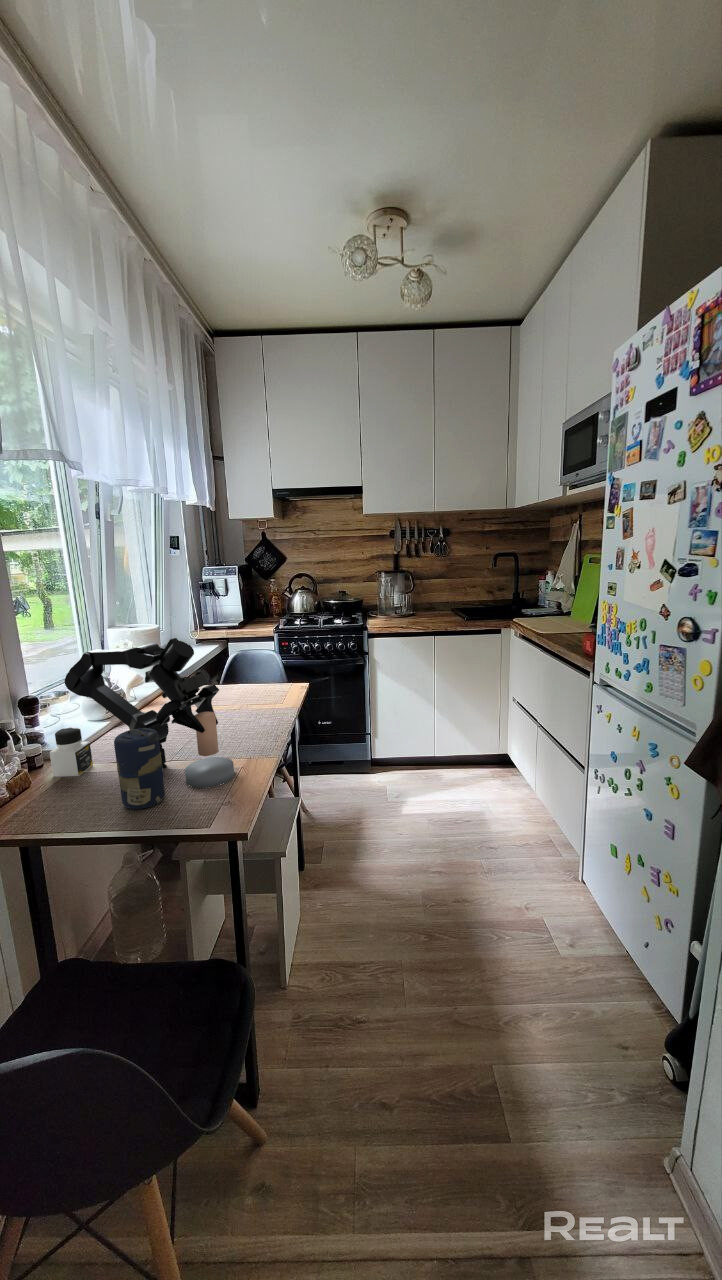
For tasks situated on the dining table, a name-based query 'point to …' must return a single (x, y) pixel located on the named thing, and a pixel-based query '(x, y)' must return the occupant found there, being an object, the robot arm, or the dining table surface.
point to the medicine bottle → (70, 753)
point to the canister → (139, 768)
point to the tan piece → (207, 734)
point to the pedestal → (209, 772)
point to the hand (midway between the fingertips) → (210, 727)
